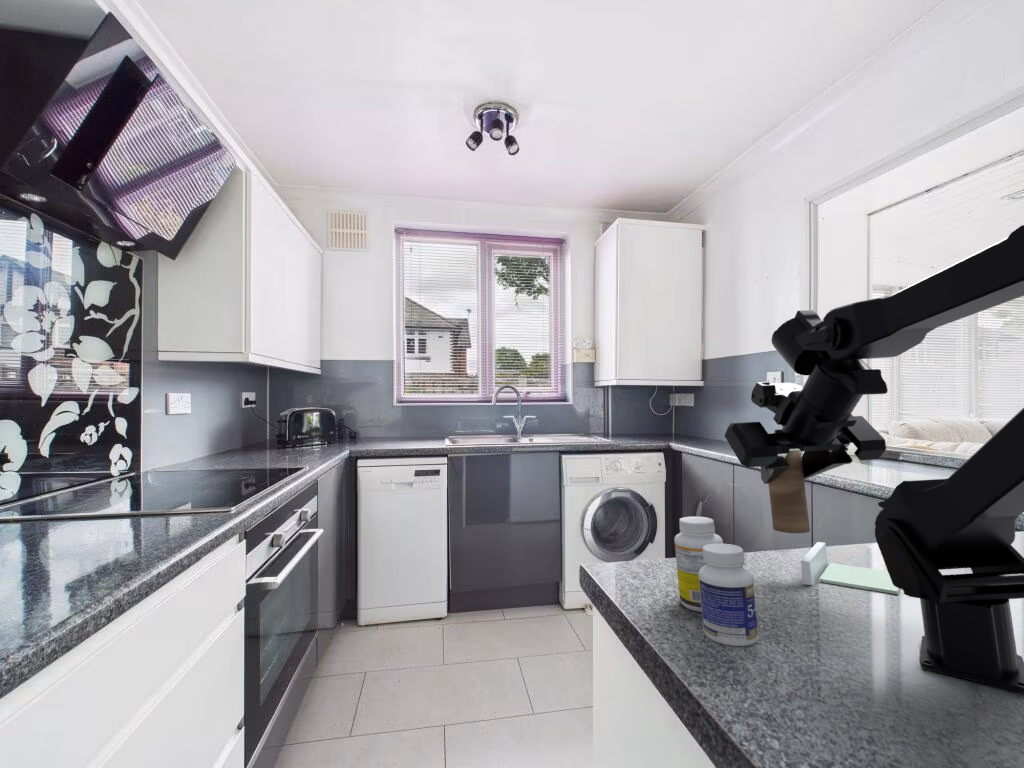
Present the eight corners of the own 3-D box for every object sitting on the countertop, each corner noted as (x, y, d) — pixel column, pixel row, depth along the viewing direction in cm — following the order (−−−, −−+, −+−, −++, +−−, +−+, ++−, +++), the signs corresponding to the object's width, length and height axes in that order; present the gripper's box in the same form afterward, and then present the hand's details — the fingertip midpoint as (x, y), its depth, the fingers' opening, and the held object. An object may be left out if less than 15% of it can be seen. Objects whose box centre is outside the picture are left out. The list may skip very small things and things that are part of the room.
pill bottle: (763, 650, 44) (754, 556, 45) (705, 645, 46) (697, 554, 47) (754, 626, 49) (745, 542, 50) (701, 622, 51) (694, 540, 52)
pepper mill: (803, 534, 61) (792, 435, 62) (768, 530, 64) (758, 435, 65) (814, 528, 63) (803, 433, 65) (779, 524, 67) (770, 434, 68)
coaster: (898, 594, 55) (897, 591, 55) (819, 581, 61) (819, 578, 61) (902, 576, 61) (901, 573, 61) (830, 565, 66) (830, 563, 66)
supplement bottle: (708, 594, 59) (701, 513, 60) (740, 610, 53) (731, 521, 54) (670, 600, 57) (663, 517, 58) (698, 618, 52) (690, 526, 53)
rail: (812, 585, 60) (809, 561, 60) (803, 583, 60) (800, 560, 60) (827, 563, 67) (825, 542, 68) (819, 562, 68) (817, 541, 68)
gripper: (856, 356, 62) (809, 436, 72) (724, 363, 61) (695, 443, 71) (918, 412, 54) (855, 493, 64) (765, 421, 53) (726, 502, 63)
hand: (779, 480), depth 66 cm, fingers closed on pepper mill, 4 cm apart
